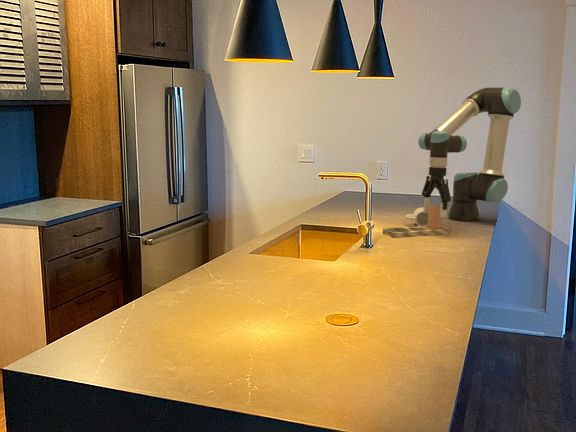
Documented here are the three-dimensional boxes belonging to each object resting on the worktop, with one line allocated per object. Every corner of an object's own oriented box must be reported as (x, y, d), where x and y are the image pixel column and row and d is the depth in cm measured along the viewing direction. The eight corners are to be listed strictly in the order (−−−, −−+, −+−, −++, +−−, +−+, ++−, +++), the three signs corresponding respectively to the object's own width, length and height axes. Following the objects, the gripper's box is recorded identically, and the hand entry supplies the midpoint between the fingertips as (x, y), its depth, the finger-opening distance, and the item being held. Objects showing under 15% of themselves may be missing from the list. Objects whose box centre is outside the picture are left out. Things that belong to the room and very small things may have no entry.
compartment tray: (437, 229, 299) (438, 224, 298) (450, 234, 290) (450, 229, 289) (382, 232, 290) (383, 228, 289) (393, 237, 281) (393, 232, 280)
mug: (429, 223, 312) (430, 207, 311) (432, 228, 302) (433, 211, 301) (404, 223, 313) (405, 206, 312) (405, 227, 304) (406, 210, 302)
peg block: (435, 231, 295) (437, 204, 293) (441, 233, 291) (442, 206, 289) (427, 231, 294) (428, 205, 292) (432, 233, 290) (433, 207, 288)
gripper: (415, 163, 298) (413, 209, 301) (446, 169, 274) (442, 219, 278) (430, 163, 300) (427, 209, 304) (461, 169, 277) (457, 218, 281)
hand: (434, 214), depth 291 cm, fingers open, 13 cm apart
